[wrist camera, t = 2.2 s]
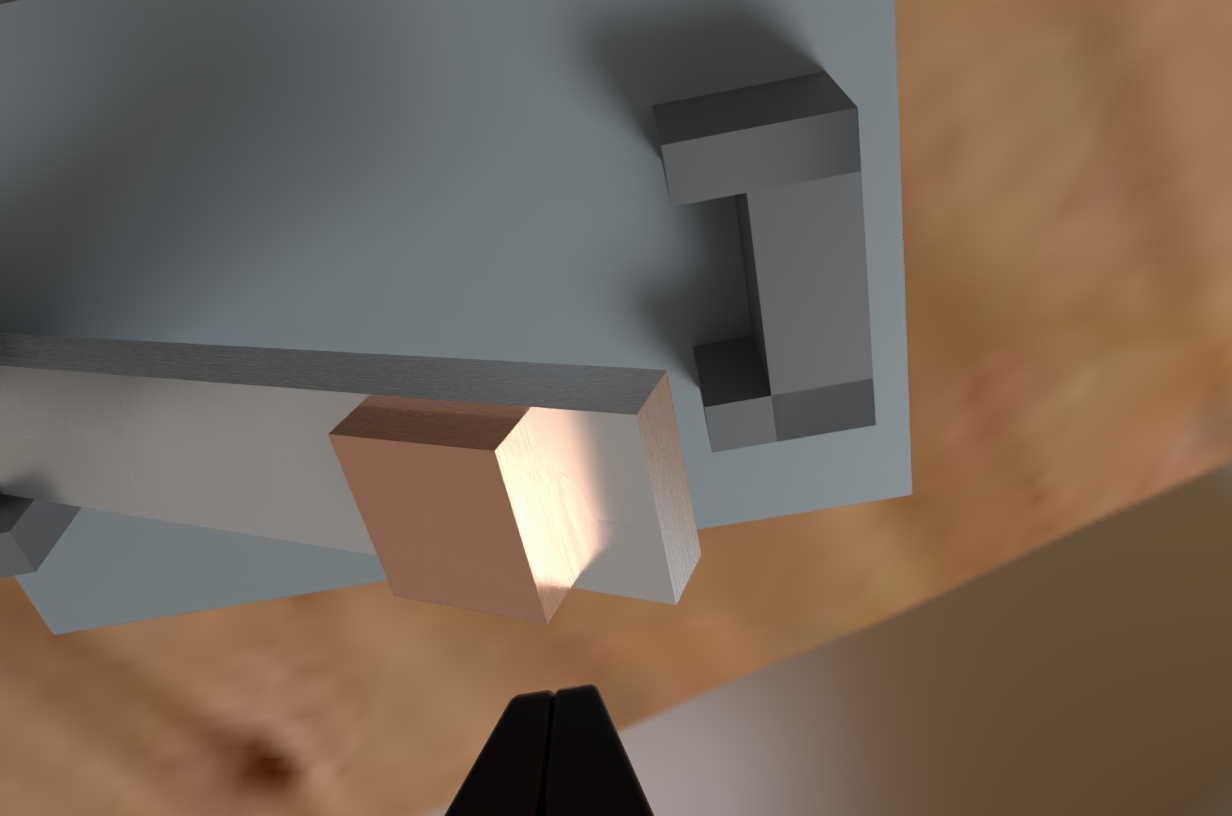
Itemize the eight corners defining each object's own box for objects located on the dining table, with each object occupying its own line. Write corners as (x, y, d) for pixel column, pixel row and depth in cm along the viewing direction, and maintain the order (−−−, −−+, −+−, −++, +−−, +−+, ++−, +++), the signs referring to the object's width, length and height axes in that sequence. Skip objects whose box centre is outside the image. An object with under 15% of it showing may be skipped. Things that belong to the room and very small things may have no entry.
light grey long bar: (12, 448, 20) (-81, 511, 19) (-68, 321, 19) (-175, 378, 17) (708, 540, 14) (654, 649, 12) (675, 356, 12) (608, 455, 11)
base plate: (81, 590, 24) (-3, 723, 21) (-259, 53, 18) (-467, 117, 14) (893, 455, 23) (949, 573, 19) (864, -188, 16) (941, -184, 13)
